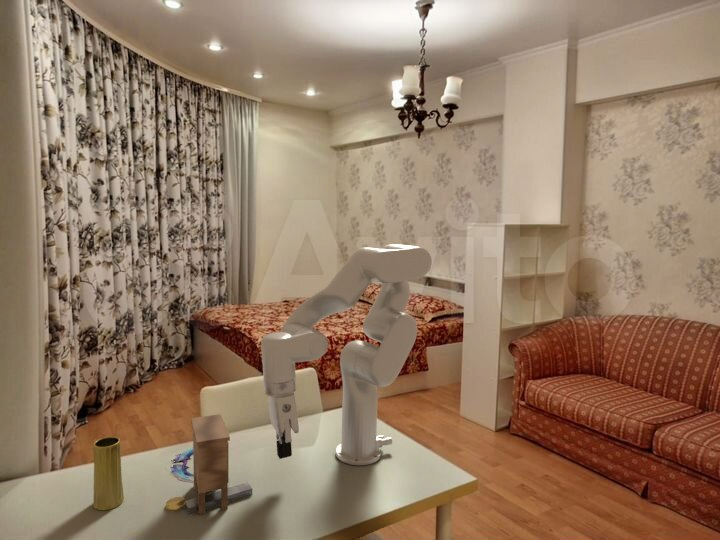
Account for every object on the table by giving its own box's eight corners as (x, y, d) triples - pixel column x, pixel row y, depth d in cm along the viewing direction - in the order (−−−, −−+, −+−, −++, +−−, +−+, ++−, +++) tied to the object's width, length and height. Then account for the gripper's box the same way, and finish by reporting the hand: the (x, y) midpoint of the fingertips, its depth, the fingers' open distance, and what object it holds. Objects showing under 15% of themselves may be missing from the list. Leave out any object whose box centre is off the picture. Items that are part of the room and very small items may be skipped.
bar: (247, 490, 115) (247, 482, 115) (252, 496, 113) (252, 488, 112) (184, 509, 107) (184, 501, 106) (188, 516, 104) (188, 508, 104)
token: (187, 501, 109) (187, 496, 109) (182, 512, 105) (182, 507, 105) (169, 502, 109) (169, 496, 109) (163, 512, 105) (163, 507, 105)
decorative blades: (173, 444, 134) (210, 443, 136) (173, 447, 134) (210, 445, 136) (154, 483, 115) (197, 480, 117) (154, 486, 115) (198, 484, 117)
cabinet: (221, 480, 118) (220, 414, 116) (229, 509, 106) (229, 436, 105) (191, 485, 115) (191, 418, 113) (197, 516, 104) (196, 442, 102)
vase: (102, 494, 111) (101, 434, 109) (129, 495, 111) (127, 436, 109) (87, 510, 105) (84, 447, 103) (114, 511, 105) (113, 449, 103)
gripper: (304, 393, 110) (308, 467, 113) (286, 371, 123) (291, 438, 126) (272, 399, 107) (277, 476, 110) (257, 377, 120) (262, 445, 123)
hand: (284, 455), depth 118 cm, fingers closed
